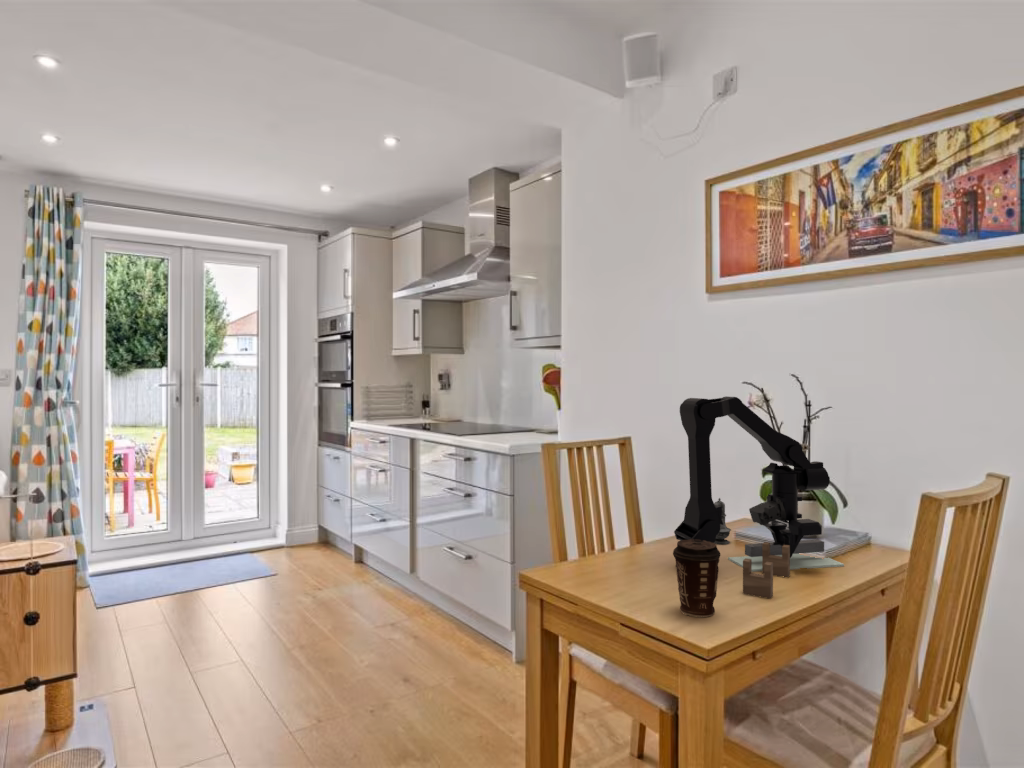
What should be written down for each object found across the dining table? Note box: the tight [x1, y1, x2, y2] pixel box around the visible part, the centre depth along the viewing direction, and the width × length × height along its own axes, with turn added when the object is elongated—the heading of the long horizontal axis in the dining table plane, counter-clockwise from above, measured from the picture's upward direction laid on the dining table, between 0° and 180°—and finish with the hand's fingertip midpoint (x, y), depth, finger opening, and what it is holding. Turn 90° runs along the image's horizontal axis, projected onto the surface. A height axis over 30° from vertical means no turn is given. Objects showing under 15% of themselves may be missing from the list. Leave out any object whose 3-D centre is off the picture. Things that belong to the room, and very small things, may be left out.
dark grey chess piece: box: [714, 497, 732, 546], centre depth 169 cm, size 6×6×12 cm
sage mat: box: [727, 554, 845, 573], centre depth 150 cm, size 24×10×1 cm, turn 100°
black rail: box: [744, 538, 825, 557], centre depth 150 cm, size 20×2×2 cm, turn 103°
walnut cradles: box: [742, 541, 791, 599], centre depth 135 cm, size 18×5×7 cm, turn 145°
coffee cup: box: [672, 539, 721, 618], centre depth 119 cm, size 9×8×13 cm
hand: (784, 556), depth 150 cm, fingers closed on black rail, 2 cm apart
